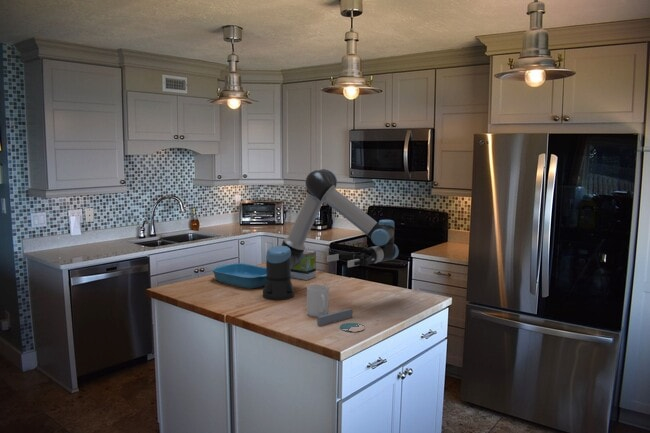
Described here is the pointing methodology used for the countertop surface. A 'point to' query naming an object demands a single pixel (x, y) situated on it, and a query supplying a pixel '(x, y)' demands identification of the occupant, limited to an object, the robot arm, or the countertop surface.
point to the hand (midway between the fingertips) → (337, 261)
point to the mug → (317, 300)
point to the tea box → (305, 266)
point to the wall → (334, 317)
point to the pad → (349, 325)
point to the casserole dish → (241, 275)
